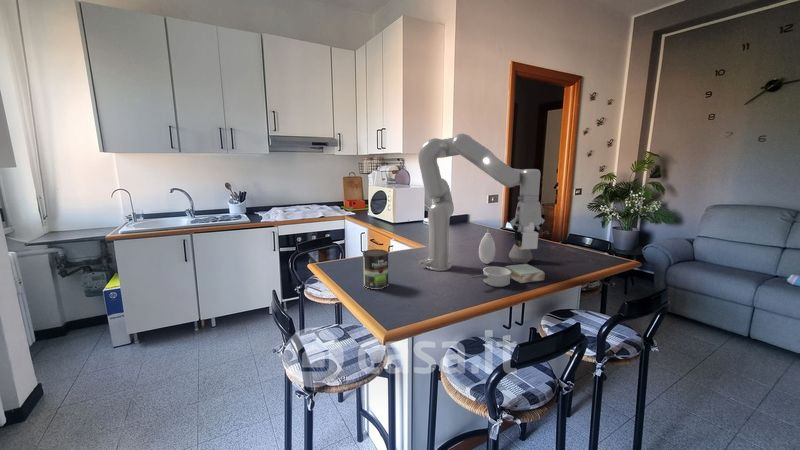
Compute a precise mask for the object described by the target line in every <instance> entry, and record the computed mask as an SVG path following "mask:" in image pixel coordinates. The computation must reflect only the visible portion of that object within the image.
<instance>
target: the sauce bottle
mask: <svg viewBox="0 0 800 450" xmlns="http://www.w3.org/2000/svg"><path fill="white" fill-rule="evenodd" d="M495 256H496V244H495V241H494V239H493V236H492V235H491V233H490V232H489V230H487V232H485V233H484V236H482V239H481V241H480V243H479V247H478V257H479V260H480V262H482V263H483V264H485V265H488V264H490V263H491V262H493V260H494V259H495Z"/></svg>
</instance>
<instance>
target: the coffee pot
mask: <svg viewBox="0 0 800 450" xmlns="http://www.w3.org/2000/svg"><path fill="white" fill-rule="evenodd" d="M545 234H550V232H549V231H548V230H545V231H542V232H541V233H538V238H540V237H541V236H543V235H545ZM531 250H532V249H520V248H518V247H517V246H515V245H514V244H513V246H512V248H511V249H510V251H509V254H508V257H509V259H510V260H511V261H512V262H513V263H516V264H528V263H530V261H532V260H533V258H534V257H533V254H532V251H531Z"/></svg>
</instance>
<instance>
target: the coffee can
mask: <svg viewBox="0 0 800 450" xmlns="http://www.w3.org/2000/svg"><path fill="white" fill-rule="evenodd" d="M362 258H363V263H362V264H363V287H364V286H365V287H367V288H371V289H379V288H384V287H386V286H388V287H389V251H387V250H385V249H378V248H377V249H367V250H364V251H363V252H362ZM365 287H364V288H365ZM367 288H366V289H367Z"/></svg>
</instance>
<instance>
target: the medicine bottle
mask: <svg viewBox="0 0 800 450" xmlns="http://www.w3.org/2000/svg"><path fill="white" fill-rule="evenodd" d="M534 228H535V226H534V223H533V222H531V223H530V226H526V227H522V228H521V230H520V232H521V240H520V241H518V240H515V239H514V244H513V246H514V245H515V246H517V247H518V248H520V249H530V250H538V245H539V244H538V242H539V237H538V234H539V231H538V232H535V231H534Z"/></svg>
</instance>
